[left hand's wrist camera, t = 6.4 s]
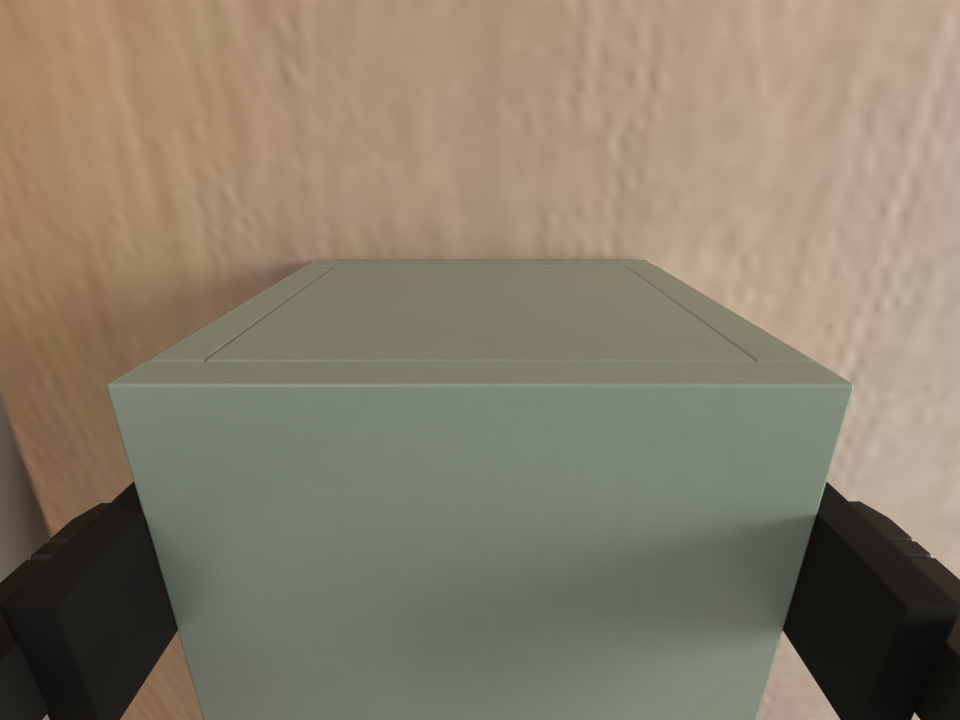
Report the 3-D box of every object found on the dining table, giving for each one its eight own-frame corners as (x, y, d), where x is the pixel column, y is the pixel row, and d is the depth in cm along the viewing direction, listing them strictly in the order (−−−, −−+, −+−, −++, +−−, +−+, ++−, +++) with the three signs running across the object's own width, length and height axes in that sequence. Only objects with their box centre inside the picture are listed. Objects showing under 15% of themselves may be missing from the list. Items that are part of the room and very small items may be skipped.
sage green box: (603, 620, 24) (691, 945, 14) (355, 620, 24) (268, 945, 14) (646, 259, 18) (857, 384, 8) (313, 259, 18) (102, 384, 8)
